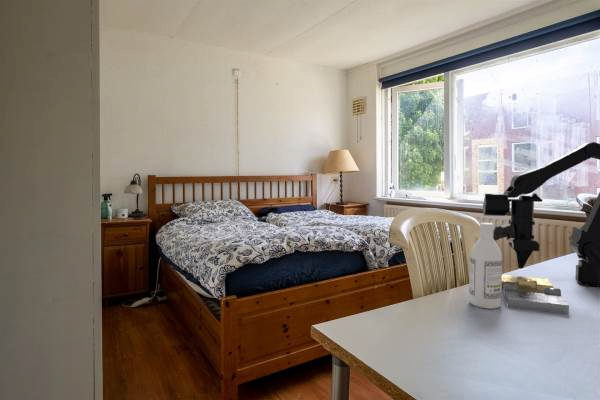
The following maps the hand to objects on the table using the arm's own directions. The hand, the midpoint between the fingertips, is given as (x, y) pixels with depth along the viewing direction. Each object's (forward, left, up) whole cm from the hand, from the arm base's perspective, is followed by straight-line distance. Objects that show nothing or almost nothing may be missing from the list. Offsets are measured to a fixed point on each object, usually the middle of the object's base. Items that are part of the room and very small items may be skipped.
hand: (520, 268), depth 109 cm
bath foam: (+11, +27, -3) cm, 29 cm away
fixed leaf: (0, +22, -3) cm, 23 cm away
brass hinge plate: (0, +10, -3) cm, 10 cm away
